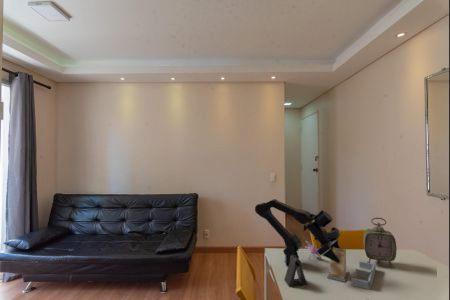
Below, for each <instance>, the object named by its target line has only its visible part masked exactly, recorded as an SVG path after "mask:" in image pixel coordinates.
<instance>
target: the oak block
mask: <svg viewBox="0 0 450 300" xmlns="http://www.w3.org/2000/svg"><path fill="white" fill-rule="evenodd" d="M340 248H341V247H340ZM340 248H335V247H333V252H334V254H335V255H336V256H337V258H338V259H339V261H340V262H339V263H337V262H335V261H333V260H331V259H329V261H330V264H329V265H330V266H329V267H330V271H329V273H331V276H334V277H338V278H342V279H344V278H345V275H346V272H347V249H344V248H341V249H340Z"/></svg>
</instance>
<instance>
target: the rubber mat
mask: <svg viewBox="0 0 450 300" xmlns="http://www.w3.org/2000/svg"><path fill="white" fill-rule="evenodd" d="M349 275H350V272H348V271H346V275H345V278H344V279H342V278H338V277H334V276H331V273H330V272H329V274H328V275H327V277H326V278H327V279H328V280H333V281H337V282H339V283H346V282H347V280H348V277H349Z"/></svg>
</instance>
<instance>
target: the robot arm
mask: <svg viewBox="0 0 450 300" xmlns="http://www.w3.org/2000/svg"><path fill="white" fill-rule="evenodd" d="M271 208H274V209H275V210H278V211H281V212H282V213H284V214H286V215H288V216H291V217H292V218H293V219H294V220H295V221H296V222H298V223H300V224H302V225H303V232H305V231H306V230H308V231H309V233H311V235H312V236H313V237H314V241H316V240H317V242H318V243H319V244H320V245H319V246H320V247H319V248H317V249H318V253H319V255H320V256H321V257H325V258H328V259H329V260H330V259H331V260H333V261H335V262H337V263H339V262H340V261H339V259H338V258H337V256H336V255H335V254H334V252H333V247H335V248H340V249H342V248H341V247H340V245H339V240H340V239H339V238H340V236H341V233H340V230H339V229H338V228H337V227H336V226H333V227H331V228H330V229H331V230H329V231H327V230H326V229H323V228H325V227H327V226H328V225H329V224H330V223H332V222H333V216H331V214H330V213H328V212H326V211H325V210H323V209H322V210H320V211H319V212H318V213H317V214H314V213H311V212H310V211H308V210H304V209H301V208H299V209H297V208H295V207H293V206H291V205H288V204H287V203H284V202H281V201H280V200H278V199H276V198H274V199H270V200H269V201H267V202H261V203H258V204H256V205H255V207H254V212H255V213H256V214H257V215H258V216H259V217H261V218H263V219H265V220H266V221H267V223H268V224H269V225H270V226H271V227H272V228H273V229H274V230H275V231H276V232H277V234H278V235H279V236H280V237H281V239H283V242H284V245H285V246H286V247H285V248H284V249H283V250H282V251H283V254H284V260H283V261H284V264H285V265H286V267H288V266H289V263H290V256H291V255H293V256H294V255H295V256H296V257H297V258H298V259H299V260H300V257H299V253H298V252H299V250H300V249H301V248H302V247H303V244H302V243H303V242H302V241H301V238H299V236H298V235H297V234H296V233H294V234H292V233H290V231H289V230H287V228H285V227H284V225H283V224H282V222H280V221H279V219H277V217H275V215H274V214H273V212H272V210H271ZM295 256H294V258H295Z"/></svg>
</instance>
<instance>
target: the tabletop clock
mask: <svg viewBox="0 0 450 300" xmlns="http://www.w3.org/2000/svg"><path fill="white" fill-rule="evenodd" d="M374 220H382V221H384V222H385V223H382V224H381V223H380V222H377V223H374V222H373V221H374ZM371 223H372V225H374V227H373V228H369V229H365V230H364V232H363V239H362V240H363V241H362V243H363V249H364V252H365V256H366V257H367V258H368V259H369V260H367V261H366V262H367V263H371V260H374V261H376V263H380V262H388V263H389V267H390V268H394V266H395V265H394V264H392V263H391V262H394V261H395V259H397V258H396V257H397V251H398V250H397V241H396V238H395V236H394V235H393V233H392V232H390V231H389V230H386V229H384V227H383V226H385V225H386V224H387V221H386V219H384V218H383V217H373V218H371Z"/></svg>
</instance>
